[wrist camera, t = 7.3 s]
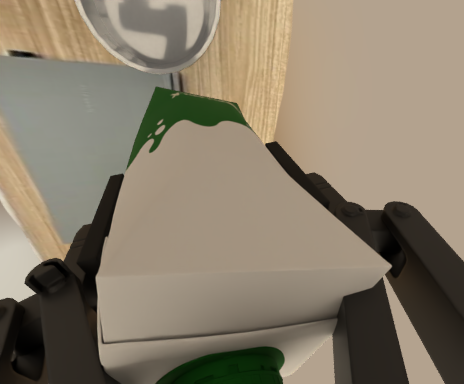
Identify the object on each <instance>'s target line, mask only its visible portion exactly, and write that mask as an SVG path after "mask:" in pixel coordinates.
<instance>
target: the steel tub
mask: <svg viewBox="0 0 464 384" xmlns="http://www.w3.org/2000/svg"><path fill="white" fill-rule="evenodd" d="M74 1H75V3H76V6H77V8H78V11H79V13H80V15H81V17H82V19H83V20H84V22H85V23H86V25H87V26H88V28H89V30H90V31H91V33H92V34H93V36H94V37H95V38H96V39H97V40H98V41H99V42H100V43H101V45H102V46H103V47H104V48H105V49H106V50H107V51H108V52H109V53H110V54H111V55H113V56H114V57H116V58H117V59H119V60H120V61H122V62H123V63H125V64H126V65H128V66H130V67H133V68H135V69H138V70H140V71H143V72H146V73H155V74H167V73H173V72H178V71H180V70H182V69H184V68H186V67H188V66H190V65H192V64H193V63H194V62H195V61H197V60H198V59H199V58H200V57H201V56H202V55H203V54H204V53H205V51H206V49H207V48H208V46H209V45H210V43H211V41H212V40H213V38H214V35H215V31H216V28H217V25H218V22H219V18H220V7H221V0H74Z"/></svg>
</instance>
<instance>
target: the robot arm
mask: <svg viewBox="0 0 464 384" xmlns="http://www.w3.org/2000/svg"><path fill="white" fill-rule="evenodd" d="M265 146H266V148H267V149H268V150H269V151H270V153H271V154H272V155H273V157H274V158H275V159H276V160H277V162H278V163H279V164H280V165H281V167H282V168H283V169H284V170H285V172H286V173H287V174H288V175H289V176H290V177H291V178H292V179H293V180H294V181H295V182H297V183H298V184H299V185H300V186H301V187H302V188H303V189H304V190H305V191H307V192H308V193H309V194H310V195H311V196H312V197H313V198H314V199H316V200H317V201H318V202H319V203H320V204H321V205H322V206H324V207H325V208H326V209H327V210H328V211H329V212H330V213H331V214H333V215H334V216H335V217H336V218H337V219H338V220H339V221H341V222H342V223H343V224H344V225H345V226H346V227H348V228H349V229H350V230H351V231H352V232H353V233H354V234H356V235H357V236H358V237H359V238H360V239H361V240H363V241H364V242H365V243H366V244H367V245H368V246H370V247H371V248H372V249H373V250H374V251H375V252H376V253H378V254H379V255H380V256H381V257H382V258H383V259H385V260H386V261H387V262H388V263H389V264H391V265H392V267H391V268H390V270H389V271H388V272H387V273H386V274H385V275H386V277H387V279H388V281H389V283H390V284H391V286H392V288H393V290H394V292H395V294H396V295H397V297H398V299H399V301H400V303H401V305H402V306H403V308H404V310H405V312H406V314H407V315H408V317H409V319H410V321H411V323H412V325H413V326H414V328H415V330H416V332H417V334H418V335H419V337H420V339H421V341H422V343H423V345H424V346H425V348H426V350H427V352H428V354H429V355H430V357H431V359H432V361H433V363H434V365H435V366H436V368H437V370H438V372H439V373H440V375H441V377H442V379H443V381H444V383H445V384H464V262H463V260H462V259H461V258H460V257H459V256H458V255H457V254H456V253H455V251H454V250H453V249H452V248H451V247H450V246H449V245H448V244H447V243H446V241H445V240H444V239H443V238H442V237H441V236H440V235H439V234H438V233H437V232H436V230H435V229H434V228H433V227H432V226H431V225H430V223H429V222H428V221H427V220H426V219H425V218H424V217H423V216H422V215H421V213H420V212H419V211H418V210H417V209H415V208H414V207H413V206H411V205H409V204H407V203H403V202H395V201H394V202H389V203H387V204H386V205H385V207H384V210H365V209H364V208H363V207H362V206H360V205H358V204H356V203H352V202H347V201H346V200H345V199H344V198H343V197H342V196H341V195H340V194H339V193H338V192H337V191H336V190H335V189H334V188H333V187H331V185H330V184H329V183H327V181H326V180H325V179H324V178H323V177H322V176H320V175H318V174H316V173H309V174H305V173H304V172H303V171H302V170H301V169H300V167H299V166H298V165H297V164H296V163H295V162H294V161H293V160H292V159H291V157H290V156H289V155H288V154H287V153H286V152H285V151H284V149H283V148H282V147H281V146H280V145H279V144H278V143H277V142H271V143H266V144H265ZM123 179H124V175H123V174H119V175H114V176H110V179H109V181H108V184H107V186H106V189H105V191H104V194H103V196H102V199H101V201H100V204H99V206H98V209H97V211H96V214H95V216H94V219H93V221H92V224H88V225H83V227H82V228H81V229H80V230H79V231H78V232H77V233H76V235H75V237H74V240H73V243H72V244H71V246H70V249H69V251H68V253H67V255H66V257H65V260H64V262H63V261H62V260H61V259H58V258H54V259H49V260H47V261H44V262H42V263H41V264H39V265H38V266H36V267H35V268H34V269H33V270H32V271H31V272H30V273H29V274H28V276H27V277H26V279H25V284H26V285H27V286H28V287H29V288H31V289H32V290H33V291H34V292H35V293H37V294H35V295H33V296H31V297H29V298H27V299H24V300H22V301H21V302H17V301H16V300H14V299H13V298H5V299H2V300H0V384H121V383H120V382H118V381H117V380H115V379H114V378H112V377H111V376H109V375H108V374H107V373H106V372H105V370H104V366H103V365H102V364H101V361H100V356H99V347H98V333H97V301H98V294H97V285H96V275H97V273H98V271H99V268H100V264H101V257H102V251H103V246H104V241H105V237H108V236H109V233H110V229H111V224H112V219H113V215H114V211H115V207H116V203H117V199H118V196H119V192H120V189H121V186H122V182H123ZM336 318H337V319H338V320H337V324H336V327H335V330H334V332H333V334H332V335H333V354H334V373H335V384H409V381H408V378H407V373H406V369H405V365H404V361H403V357H402V354H401V349H400V345H399V341H398V337H397V333H396V329H395V325H394V321H393V317H392V313H391V309H390V305H389V301H388V297H387V293H386V289H385V285H384V281H383V277H382V278H381V279H380V280H379V281H378V282H377V283H376V284H375V285H374V286H373V287H372V288H370V289H366V290H363V291H360V292H356V293H353V294H349V295H346V296H344V297H343V299H342V302H341V305H340V308H339V311H338V314H337V317H336Z"/></svg>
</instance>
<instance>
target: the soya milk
mask: <svg viewBox="0 0 464 384" xmlns="http://www.w3.org/2000/svg"><path fill="white" fill-rule="evenodd" d="M391 267H392V265H391V264H389V263H388V262H387V261H386V260H385V259H383V258H382V257H381V256H380V255H379V254H378V253H376V252H375V251H374V250H373V249H372V248H371V247H370V246H368V245H367V244H366V243H365V242H364V241H363V240H361V239H360V238H359V237H358V236H357V235H356V234H354V233H353V232H352V231H351V230H350V229H349V228H348V227H346V226H345V225H344V224H343V223H342V222H341V221H339V220H338V219H337V218H336V217H335V216H334V215H333V214H331V213H330V212H329V211H328V210H327V209H326V208H325V207H324V206H322V205H321V204H320V203H319V202H318V201H317V200H316V199H314V198H313V197H312V196H311V195H310V194H309V193H308V192H307V191H305V190H304V189H303V188H302V187H301V186H300V185H299V184H298V183H297V182H295V181H294V180H293V179H292V178H291V177H290V176H289V175H288V174H287V173H286V172H285V170H284V169H283V168H282V167H281V165H280V164H279V163H278V162H277V160H276V159H275V158H274V157H273V155H272V154H271V153H270V151H269V150H268V149H267V148H266V146H265V145H264V144H263V142H262V141H261V140H260V139H259V137H258V136H257V135H256V134H255V132H254V131H253V130H252V128H251V127H250V126H249V124H248V123H247V122H246V121H245V119H244V117H243V115H242V113H241V111H240V109H239V106H238V104H237V103H233V102H228V101H224V100H219V99H214V98H209V97H204V96H199V95H194V94H189V93H185V92H180V91H175V90H170V89H165V88H160V87H156V88H155V91H154V93H153V96H152V98H151V101H150V103H149V105H148V108H147V110H146V113H145V115H144V118H143V120H142V123H141V125H140V128H139V131H138V134H137V136H136V139H135V142H134V145H133V149H132V152H131V155H130V159H129V162H128V165H127V169H126V172H125V176H124V179H123V182H122V186H121V189H120V192H119V196H118V199H117V203H116V207H115V211H114V215H113V219H112V224H111V229H110V233H109V236H108V237H105V241H104V246H103V251H102V257H101V264H100V268H99V271H98V273H97V275H96V285H97V294H98V301H97V333H98V347H99V356H100V361H101V364H102V365H103V366H104V370H105V372H106V373H107V374H108V375H109V376H111V377H112V378H114V379H115V380H117V381H118V382H120V383H121V384H283V379H282V377H285V376H289V375H291V374H293V373H294V372H295V371H296V370H297V369H298V368H299V367H300V366H301V365H302V364H303V363H304V362H305V361H306V360H307V359H308V358H309V357H310V356H311V355H312V354H313V353H314V352H315V351H316V350H317V349H318V348H319V347H320V346H321V345H322V344H323V343H324V342H325V341H326V340H327V339H328V338H329V337H330V336H331V335H332V334H333V332H334V330H335V327H336V324H337V320H338V319H337V318H336V317H337V314H338V311H339V308H340V305H341V302H342V299H343V297H344V296H346V295H349V294H353V293H356V292H360V291H363V290H366V289H370V288H372V287H373V286H374V285H375V284H376V283H377V282H378V281H379V280H380V279H381V278H382V277H383V276H384V275H385V274H386V273H387V272H388V271H389V270H390V268H391Z"/></svg>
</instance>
